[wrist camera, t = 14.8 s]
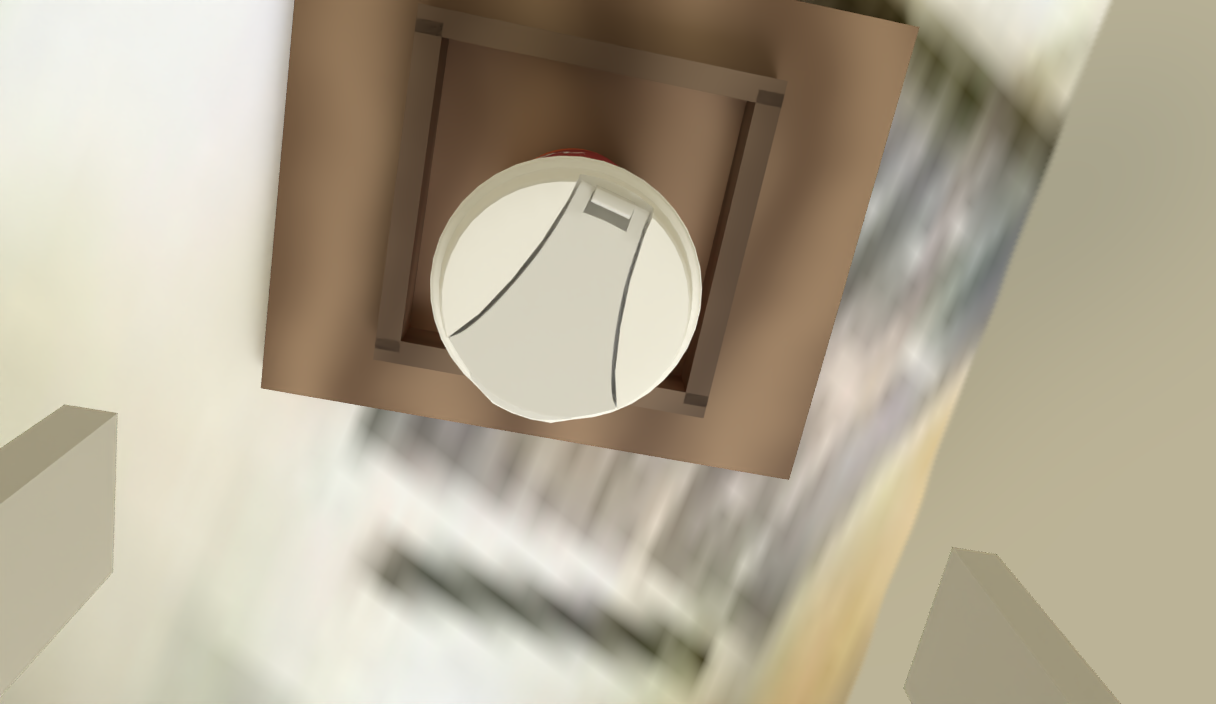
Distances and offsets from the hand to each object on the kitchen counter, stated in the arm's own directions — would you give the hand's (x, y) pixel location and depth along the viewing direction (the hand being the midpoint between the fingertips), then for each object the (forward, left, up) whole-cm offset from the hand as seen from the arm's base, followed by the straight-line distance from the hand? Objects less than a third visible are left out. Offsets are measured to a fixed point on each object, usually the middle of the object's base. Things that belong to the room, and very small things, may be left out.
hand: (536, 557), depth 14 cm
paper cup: (0, +1, -25) cm, 25 cm away
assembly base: (0, +1, -27) cm, 27 cm away
